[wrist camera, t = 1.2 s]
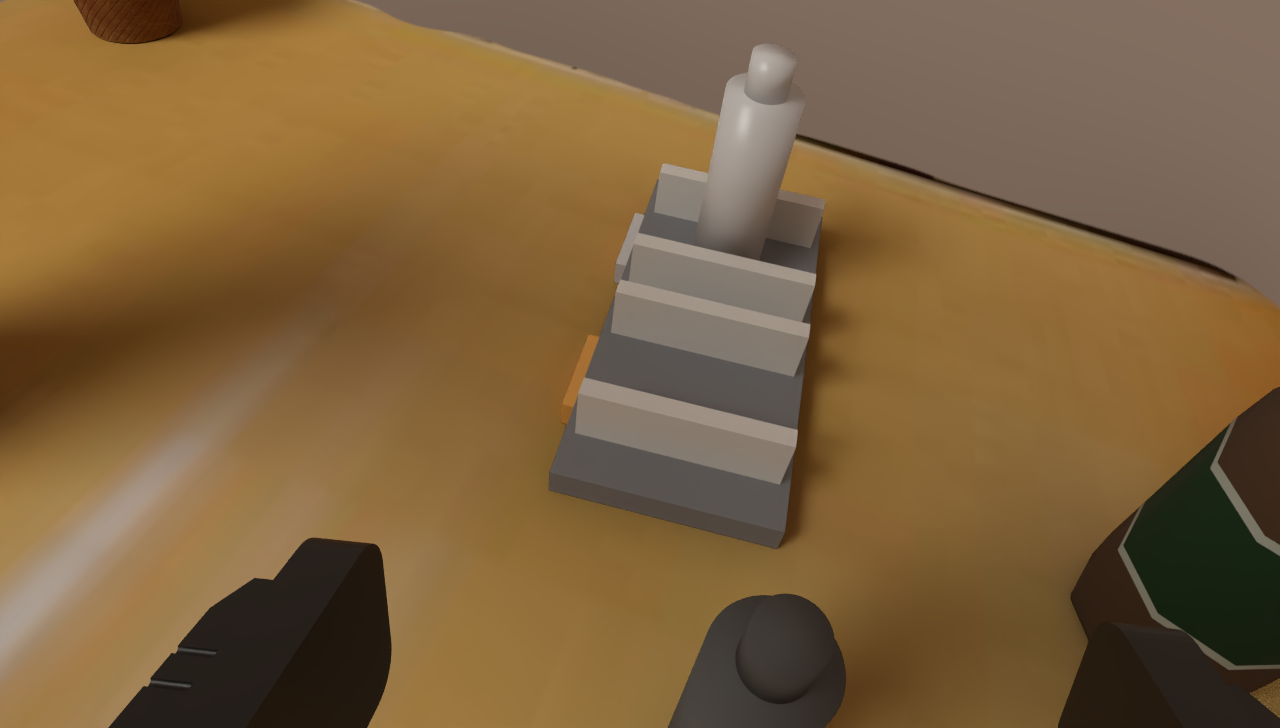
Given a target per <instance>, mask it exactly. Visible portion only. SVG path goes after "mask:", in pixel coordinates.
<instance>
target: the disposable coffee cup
mask: <svg viewBox="0 0 1280 728" xmlns="http://www.w3.org/2000/svg"><path fill="white" fill-rule="evenodd" d="M74 2H75V4H76V6H77V7H78V9H79V11H80V13H81V14H82V16H83V18H84V20H85V22H86V23H87V25H88V27H89V29H90V30H91V32H92V33H93V34H94V35H96V36H97V37H99V38H101V39H104V40H108V41H113V42H119V43H139V42H146V41H152V40H156V39H159V38H162V37H165V36H167V35H169V34H171V33H173V32H174V31H176V30H177V29H178V28H179V27H180V25H181V23H182V17H181V13H180V7H179V2H178V0H74Z"/></svg>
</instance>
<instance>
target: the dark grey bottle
mask: <svg viewBox="0 0 1280 728" xmlns="http://www.w3.org/2000/svg"><path fill="white" fill-rule="evenodd" d="M845 684H846V673H845V665H844V660H843V657H842V654H841V651H840V649H839V646H838V644H837V642H836V640H835V639H834V633H833V630H832V627H831V624H830V622H829V620H828V619H827V617H826V616H825V614H824V613H823V612H822V611H821V610H820V609H819V608H818V607H817V606H816V605H815V604H814V603H812V602H811V601H809V600H807V599H805V598H803V597H800V596H797V595H793V594H778V595H774V596H767V595H760V596H751V597H747V598H743V599H741V600H738V601H736V602H734V603H732V604H731V605H729V606H728V607H726V608H725V609H724V610H723V611H722V612H721V613H720V614H719V615H718V616H717V617H716V618H715V620H714V621H713V622H712V624H711V626H710V628H709V630H708V632H707V635H706V637H705V640H704V642H703V644H702V647H701V649H700V652H699V654H698V656H697V659H696V661H695V664H694V666H693V668H692V671H691V673H690V676H689V678H688V680H687V683H686V685H685V688H684V690H683V693H682V695H681V697H680V700H679V702H678V705H677V707H676V709H675V712H674V714H673V717H672V719H671V721H670V724H669V726H668V728H824V727H825V726H826V725H827V724H828V723H829V722H830V720H831V719H832V718H833V717H834V715H835V714H836V712H837V711H838V709H839V707H840V705H841V702H842V699H843V696H844V692H845Z"/></svg>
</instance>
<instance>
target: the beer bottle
mask: <svg viewBox="0 0 1280 728" xmlns="http://www.w3.org/2000/svg"><path fill="white" fill-rule="evenodd" d="M1071 601H1072V603H1073V606H1074V608H1075V610H1076V612H1077V615H1078V617H1079V619H1080V621H1081V624H1082V626H1083V628H1084V631H1085V633H1086V635H1087V637H1088V640H1090V637H1091V635H1092V633H1093V631H1094V630H1095V628H1096V627H1097V626H1098V625H1099V624H1101V623H1103V622H1114V623H1124V624H1133V625H1143V626H1153V627H1162V628H1172V629H1179V630H1182V631H1184V632H1186V633H1187V634H1188V635H1190V636H1191V637H1192V638H1193V639H1194V641H1195V642H1196V643H1197V644H1198V646H1199V647H1200V648H1201V650H1202V651H1203V652H1204V654H1205V655H1206V657H1207V658H1208V659H1209V661H1210V662H1211V663H1212V665H1213V666H1214V667H1215V669H1216V670H1217V672H1218V673H1219V674H1220V676H1221V677H1222V678H1223V680H1224V681H1225V682H1226V684H1227V685H1232V686H1241V687H1242V688H1243V689H1244V690H1246V691H1247V692H1248V693H1250V692H1253V691H1255V690H1257V689H1259V688H1261V687H1263V686H1265V685H1267V684H1269V683H1271V682H1273V681H1275V680H1276V679H1278V678H1280V387H1278V388H1276V389H1274V390H1272V391H1271V392H1270V393H1268V394H1267V395H1266V396H1264V397H1263V398H1262V399H1260V400H1259V401H1258V402H1256V403H1255V404H1254V405H1252V406H1251V407H1250V408H1249V409H1247V410H1246V411H1245V412H1243V413H1242V414H1241V415H1239V416H1238V417H1237V418H1236V419H1235V420H1234V421H1232V422H1231V423H1230V424H1229V425H1228V426H1227V427H1226V428H1225V429H1224V430H1223V431H1222V432H1221V433H1219V434H1218V435H1217V436H1216V437H1215V438H1214V439H1213V440H1212V441H1211V442H1210V443H1209V444H1207V445H1206V446H1205V447H1204V448H1203V449H1202V450H1201V451H1200V452H1199V453H1198V454H1197V455H1196V456H1194V457H1193V458H1192V459H1191V460H1190V461H1189V462H1188V463H1187V464H1186V465H1185V466H1184V467H1182V468H1181V469H1180V470H1179V471H1178V472H1177V473H1176V474H1175V475H1174V476H1173V477H1172V478H1171V479H1169V480H1168V481H1167V482H1166V483H1165V484H1164V485H1163V486H1162V487H1161V488H1160V489H1159V490H1158V491H1156V492H1155V493H1154V494H1153V495H1152V496H1151V497H1150V498H1149V499H1148V500H1147V501H1146V502H1144V503H1143V504H1142V505H1141V506H1140V507H1139V508H1138V509H1137V510H1136V511H1135V512H1134V513H1133V514H1131V515H1130V516H1129V517H1128V518H1127V519H1126V520H1125V521H1124V522H1123V523H1122V524H1121V525H1119V526H1118V527H1117V528H1116V529H1115V530H1114V531H1113V532H1112V533H1111V534H1110V535H1109V536H1108V537H1107V538H1106V539H1105V540H1104V542H1103V543H1102V544H1101V545H1100V546H1099V547H1098V548H1097V549H1096V550H1095V551H1094V553H1093V554H1092V556H1091V558H1090V559H1089V561H1088V563H1087V565H1086V567H1085V569H1084V571H1083V573H1082V574H1081V576H1080V578H1079V580H1078V582H1077V584H1076V586H1075V587H1074V589H1073V591H1072V593H1071Z"/></svg>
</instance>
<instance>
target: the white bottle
mask: <svg viewBox="0 0 1280 728" xmlns="http://www.w3.org/2000/svg"><path fill="white" fill-rule="evenodd" d="M797 61H798V57H797V55H796V54H795V53H794V52H793V51H792V50H790V49H789V48H786V47H784V46H781V45H777V44H761V45H758V46H756V47H754V49H753V52H752V56H751V60H750V65H749V69H748V73H743V74H739V75H736V76H734V77H732V78H731V79H730V80H729V81H728V82H727V85H726V89H725V94H724V99H723V104H722V109H721V113H720V118H719V123H718V128H717V133H716V138H715V142H714V147H713V152H712V157H711V162H710V167H709V172H708V176H707V181H706V186H705V191H704V196H703V201H702V206H701V210H700V215H699V220H698V225H697V230H696V235H695V240H694V244H693V246H697V247H702V248H706V249H710V250H714V251H719V252H723V253H727V254H732V255H736V256H740V257H745V258H749V259H753V260H757V261H759V260H760V256H761V253H762V249H763V246H764V242H765V239H766V235H767V232H768V229H769V225H770V222H771V218H772V215H773V211H774V208H775V205H776V201H777V198H778V194H779V191H780V187H781V184H782V180H783V177H784V174H785V170H786V167H787V163H788V160H789V156H790V153H791V150H792V146H793V143H794V139H795V136H796V132H797V129H798V126H799V122H800V118H801V115H802V112H803V108H804V105H805V95H804V93H803V92H802V90H801V89H800V88H799V87H798V86H796V85H795V84H794V83H792V79H793V76H794V72H795V68H796V65H797Z"/></svg>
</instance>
